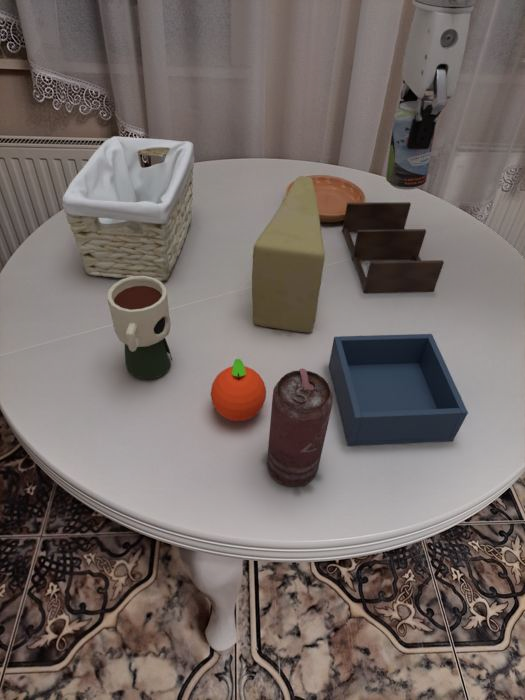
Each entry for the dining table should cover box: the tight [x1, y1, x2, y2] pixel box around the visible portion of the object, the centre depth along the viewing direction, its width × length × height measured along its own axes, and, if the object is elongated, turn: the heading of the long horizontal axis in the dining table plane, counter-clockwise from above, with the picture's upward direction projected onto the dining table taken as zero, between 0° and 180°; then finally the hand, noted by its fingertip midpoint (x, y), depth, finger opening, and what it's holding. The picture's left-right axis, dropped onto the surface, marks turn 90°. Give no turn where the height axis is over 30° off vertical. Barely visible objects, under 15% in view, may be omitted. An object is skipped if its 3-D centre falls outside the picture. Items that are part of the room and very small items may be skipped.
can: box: [266, 368, 334, 487], centre depth 56 cm, size 6×6×14 cm
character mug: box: [107, 276, 173, 379], centre depth 66 cm, size 11×7×13 cm, turn 177°
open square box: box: [328, 333, 469, 447], centre depth 66 cm, size 14×14×6 cm
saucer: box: [285, 174, 366, 224], centre depth 103 cm, size 16×16×3 cm
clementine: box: [210, 358, 267, 422], centre depth 64 cm, size 8×7×7 cm
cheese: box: [251, 175, 326, 333], centre depth 80 cm, size 22×10×15 cm, turn 170°
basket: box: [61, 135, 195, 282], centre depth 87 cm, size 24×16×15 cm
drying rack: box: [341, 201, 445, 294], centre depth 89 cm, size 12×19×6 cm, turn 5°
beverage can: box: [385, 100, 437, 191], centre depth 76 cm, size 6×7×12 cm
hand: (411, 136), depth 75 cm, fingers closed on beverage can, 6 cm apart
